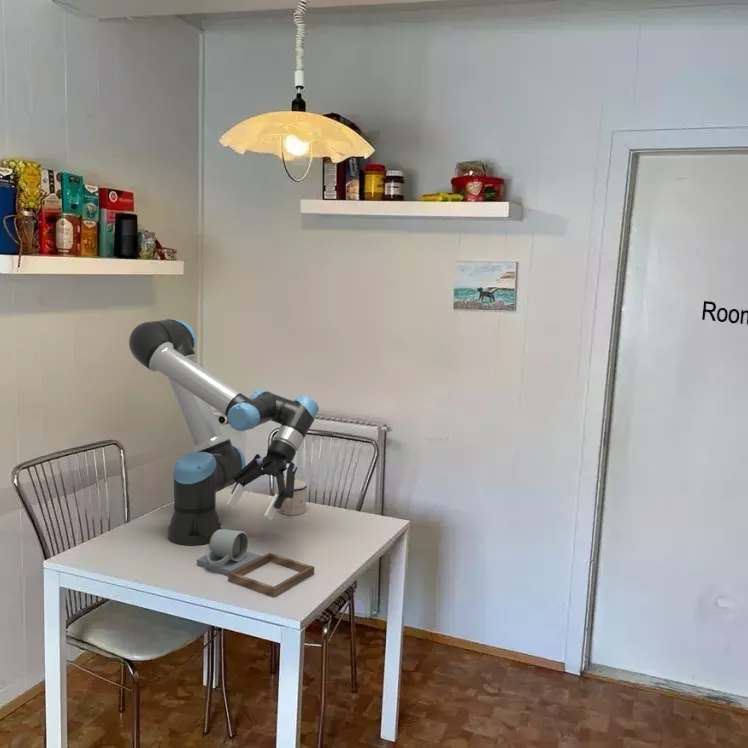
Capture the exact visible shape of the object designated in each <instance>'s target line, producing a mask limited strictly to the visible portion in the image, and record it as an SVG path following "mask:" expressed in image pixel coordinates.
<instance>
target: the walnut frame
mask: <svg viewBox="0 0 748 748" xmlns="http://www.w3.org/2000/svg"><path fill="white" fill-rule="evenodd" d="M261 556H262V557H260V558H258V559H256V560H254V561H252V562H250V563H248V564H246V565H244V566H242V567H240V568H238V569H236V570H234V571H232V572H229V573H228V576H227V578H228V580H227V582H232V583H234V584H236V585H239V586H241V587H245V588H248V589H250V590H253V591H256V592H258V593H261V594H264V595H267V596H271V597H273V598H275V597H277V596H279V595H280V594H283V593H285V592H286V591H288V590H289V589H291V588H293V587H294V586H296V585H298V584H299V582H300V583H301V582H304V581H305V580H307V579H308V578H310V577H311V575H312V576H314V575H315V566H313V565H310V564H307V563H304V562H300V561H297V560H294V559H290V558H288V557H285V556H281V555H278V554H275V553H271V552H268V553H266V554H264V555H261ZM268 562H269V563H273V564H276V565H278V566H281V565H282V567H284V566H285V567H284V568H289V569H291V570H295V571H297V573H296V574H294V575H293V576H291V577H289V578H287V579H285V580H283V581H282V582H279V583H278V584H276V585H274V586H273V585H270V584H267V583H265V582H262V581H259V580H255V579H253V578H251V577H248V576H245V575H247V574H249V573H251V572H253V571H254V570H257V569H259V568H261V567H263V566H265V565H267V564H268ZM266 563H267V564H266ZM300 571H301V572H300ZM313 574H314V575H313ZM309 576H310V577H309ZM306 578H307V579H306ZM304 579H305V580H304ZM297 583H298V584H297ZM292 586H293V587H292ZM287 589H288V590H287Z"/></svg>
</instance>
